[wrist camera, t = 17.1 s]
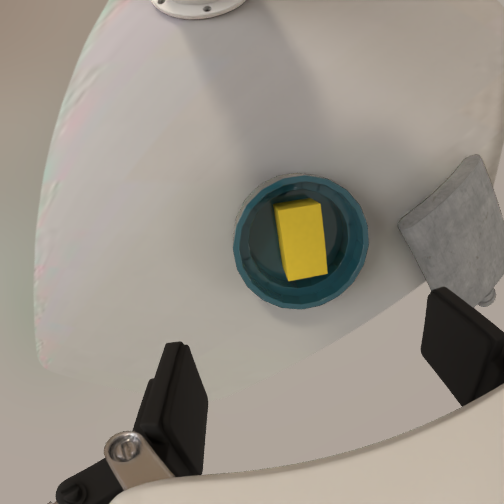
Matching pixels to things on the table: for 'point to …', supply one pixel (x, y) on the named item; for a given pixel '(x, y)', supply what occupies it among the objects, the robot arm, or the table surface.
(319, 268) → the sponge
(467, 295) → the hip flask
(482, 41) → the table surface
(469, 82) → the table surface
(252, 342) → the table surface
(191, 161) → the table surface
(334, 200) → the bowl
